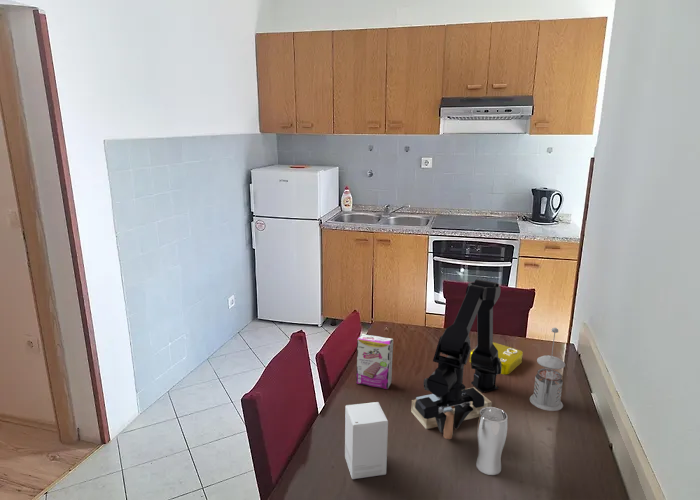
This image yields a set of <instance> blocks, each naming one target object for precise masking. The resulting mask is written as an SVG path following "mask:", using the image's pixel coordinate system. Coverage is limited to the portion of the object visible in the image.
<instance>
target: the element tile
mask: <svg viewBox="0 0 700 500" xmlns="http://www.w3.org/2000/svg"><path fill="white" fill-rule="evenodd" d="M493 345H494V346H495V347H496V349H497V350H498V358H500V361H501V363H502V365H501V374H500V375H505V376H506V375H509V374H510V373H512V372H513V371H514V370H515V369H516V368H517V367H519V366H520V364H522V362H523V355H524V354H523V351H522V350H520V349H518V348H514V347H510V346H508V345H504V344H500V343H498V342H494V341H493ZM474 349H475V348H473V349H471V351H470V354H469V363H470V364H471V355H472V353H473V351H474Z"/></svg>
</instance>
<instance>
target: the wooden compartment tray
mask: <svg viewBox="0 0 700 500" xmlns="http://www.w3.org/2000/svg"><path fill="white" fill-rule="evenodd" d="M470 388H471V387H469V388H467V389H470ZM472 388H474V389H475V390H476V391H478V392H479V393H480V394H481V395H482V396H483V397H484V399H485V402H484V406H483V407H478V408H475V407H474V406H473V405H472V404H473V402H472V401H470V406H471V407H472V408H473V411H471V412H470V413H469V414H468V415H467V417H466V418H465V419H464V420H463V421H466V420H472V419H475V418H479V414H480V410H481V409H482V408H485V407H492V406H493V405H492V404H493V403H492V401H491V400H490V399H489V398H488V397H486V396H485V395H484V394H483V393H482V392H481V391H480V390H479V389H477V388H476V387H475V386H472ZM465 389H466V388H465ZM465 389H464V390H465ZM416 400H417V399H416V398H415V399H411V407H410V408H411V409H410V411H411V414H412V415H414V417H415V419H417V421H419V423H420V424H421V425H422V426H423V427H424V429H425V430H428V429H429V430H430V429H434V428H438V425H437V422H436V419H435V417H434V418H430V419H425V418H424V417H423V416H422V415H421V414H420V413H419V412H418V411H417V410H416V408H415V402H416ZM451 408H452V411H449V412H452V413H453V414H454V413H455V407H454V406H452V407H451ZM444 414H445V413H444ZM453 424H454V420H453Z"/></svg>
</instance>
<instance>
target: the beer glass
mask: <svg viewBox="0 0 700 500" xmlns="http://www.w3.org/2000/svg"><path fill="white" fill-rule="evenodd" d="M476 431H477V433H476V435H477V444H478V455H477V459H476V462H475V463H476V464H475V465H476V469H478V471H480V472H481V473H482V474H484V475H487V476H496V475H499V474H500V473H501V471H502V461H501V458H502V454H503V453H502V452H503V449H504V447H505V443H506V439H507V434H508V414H507V412H505V411H504V410H503V409H501V408H497V407H494V406H491V407H485V408H482V409H481V410H480V414H479V417H478V421H477V429H476Z"/></svg>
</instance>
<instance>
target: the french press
mask: <svg viewBox="0 0 700 500" xmlns="http://www.w3.org/2000/svg"><path fill="white" fill-rule="evenodd" d="M551 328H552V329H551V332H552V333H554V334H553V340H552V349H551V355H542V356H539V357H537V359H536V361H537V362H536V363H537V364H538V365H539V366H541V367H542V368H541V369H538V370H537V371H536V375H535V377H534V387H533V394H532V395H530V397H529V402H530V403H531V404H532V405H533V406H534V407H536V408H538V409H541V410H544V411H549V412H554V411H556V412H557V411H560V410H562V409H563V407H564V404H563V402H562V401H561V400H562V399H561V397H562V393H563V392H562V389H563V383H564V382H563V381H564V380H563V375H562V374H561V373H560V372H559V371H557V370H561V369H563V368H565V367H566V363H565V362H564V361H563V360H562V359H560V358H559V357H558V356H554V355H553V353H554V344H555V338H556V334H557V333H559V329H558V328H557V327H551Z"/></svg>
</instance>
